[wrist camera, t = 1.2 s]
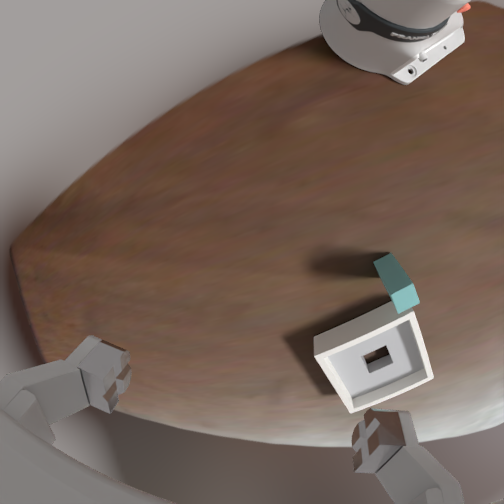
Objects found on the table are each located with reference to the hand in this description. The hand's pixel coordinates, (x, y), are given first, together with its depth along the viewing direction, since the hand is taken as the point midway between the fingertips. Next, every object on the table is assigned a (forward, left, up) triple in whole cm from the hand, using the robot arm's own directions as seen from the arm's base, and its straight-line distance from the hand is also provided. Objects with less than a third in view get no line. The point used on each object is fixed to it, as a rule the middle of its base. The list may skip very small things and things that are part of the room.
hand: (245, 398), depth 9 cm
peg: (-8, +15, -34) cm, 38 cm away
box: (-1, +29, -34) cm, 45 cm away
